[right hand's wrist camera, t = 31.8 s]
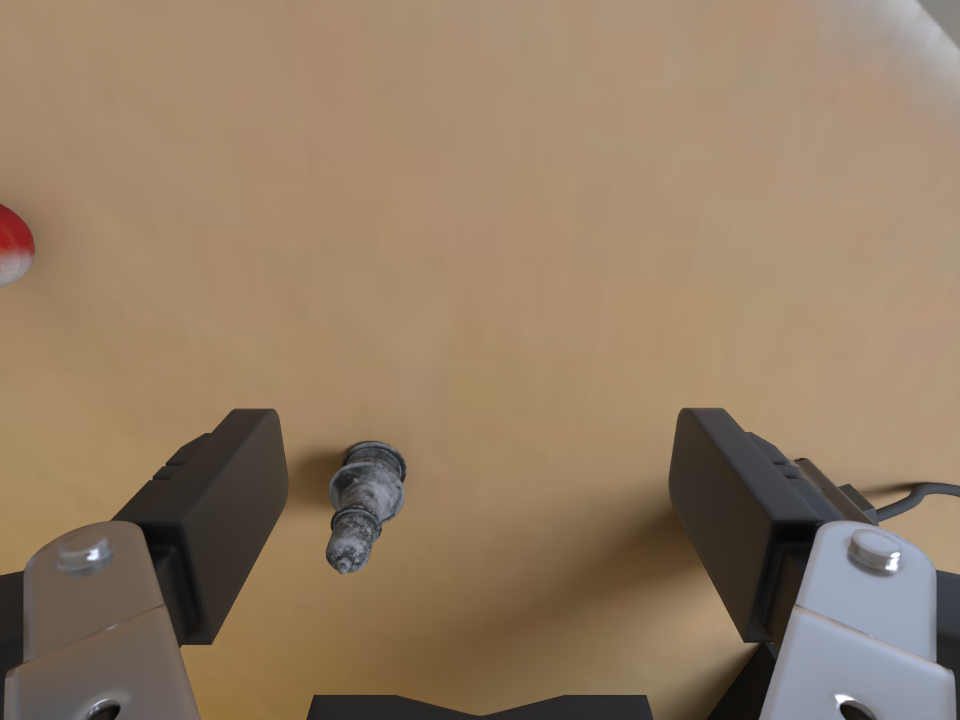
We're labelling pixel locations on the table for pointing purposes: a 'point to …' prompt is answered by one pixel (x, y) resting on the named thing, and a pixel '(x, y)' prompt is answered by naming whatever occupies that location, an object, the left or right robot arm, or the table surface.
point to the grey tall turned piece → (363, 502)
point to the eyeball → (14, 247)
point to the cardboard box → (749, 688)
